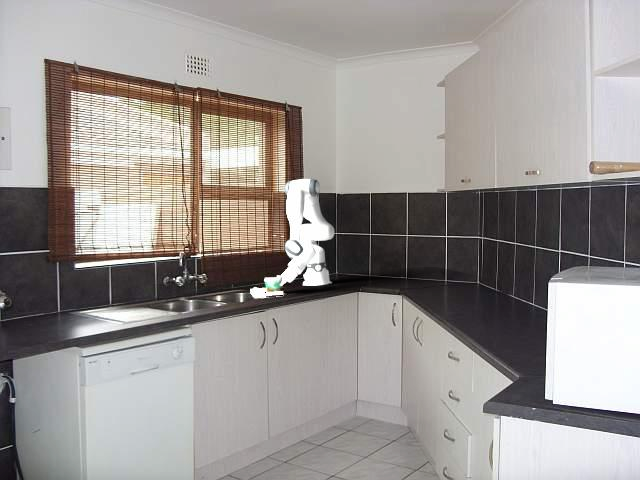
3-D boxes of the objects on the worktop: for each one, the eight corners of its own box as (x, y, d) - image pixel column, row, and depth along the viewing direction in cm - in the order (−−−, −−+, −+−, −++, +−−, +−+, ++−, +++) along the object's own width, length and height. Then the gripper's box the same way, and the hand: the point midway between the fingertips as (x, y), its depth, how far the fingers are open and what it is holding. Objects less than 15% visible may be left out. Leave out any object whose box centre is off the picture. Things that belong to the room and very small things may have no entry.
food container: (273, 295, 369) (272, 278, 369) (265, 295, 373) (264, 277, 372) (286, 292, 379) (285, 275, 379) (278, 292, 383) (277, 275, 382)
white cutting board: (250, 293, 384) (250, 287, 384) (277, 291, 388) (277, 285, 387) (254, 298, 362) (254, 292, 362) (283, 296, 365) (282, 290, 365)
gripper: (288, 262, 387) (273, 280, 386) (294, 265, 367) (278, 283, 366) (296, 269, 388) (281, 286, 387) (302, 272, 368) (286, 290, 367)
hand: (279, 285), depth 376 cm, fingers closed
